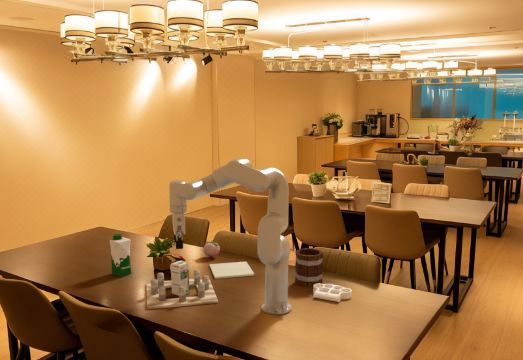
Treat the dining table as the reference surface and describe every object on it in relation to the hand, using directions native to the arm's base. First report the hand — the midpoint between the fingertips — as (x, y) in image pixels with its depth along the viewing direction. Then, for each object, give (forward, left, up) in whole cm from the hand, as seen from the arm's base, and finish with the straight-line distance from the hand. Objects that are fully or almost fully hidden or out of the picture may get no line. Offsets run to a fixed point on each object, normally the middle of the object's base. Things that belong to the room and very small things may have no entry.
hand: (178, 245), depth 223 cm
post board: (0, 0, -22) cm, 22 cm away
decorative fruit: (+49, -21, -23) cm, 58 cm away
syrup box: (0, 0, -23) cm, 23 cm away
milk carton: (+33, +27, -23) cm, 48 cm away
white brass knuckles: (-18, -66, -23) cm, 73 cm away
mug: (+3, -63, -23) cm, 67 cm away
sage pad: (+25, -28, -22) cm, 44 cm away
